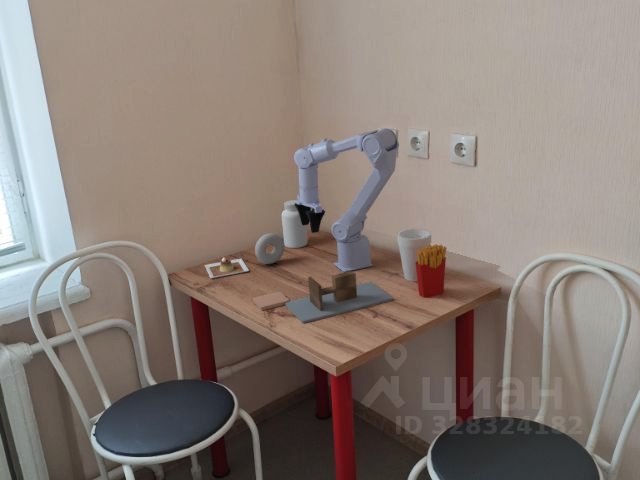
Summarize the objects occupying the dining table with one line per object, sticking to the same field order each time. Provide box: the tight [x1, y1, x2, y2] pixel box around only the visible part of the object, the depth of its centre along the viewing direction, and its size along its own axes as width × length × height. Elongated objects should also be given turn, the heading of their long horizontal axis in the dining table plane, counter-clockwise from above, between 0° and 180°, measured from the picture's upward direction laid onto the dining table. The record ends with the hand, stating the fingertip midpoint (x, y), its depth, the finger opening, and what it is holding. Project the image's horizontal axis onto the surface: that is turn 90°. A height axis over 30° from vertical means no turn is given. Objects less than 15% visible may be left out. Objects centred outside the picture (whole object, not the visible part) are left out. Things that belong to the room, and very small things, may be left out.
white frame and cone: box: [204, 256, 250, 279], centre depth 203 cm, size 12×12×5 cm
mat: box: [284, 281, 394, 324], centre depth 174 cm, size 26×13×1 cm, turn 113°
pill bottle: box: [281, 199, 308, 249], centre depth 218 cm, size 8×8×15 cm
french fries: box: [416, 244, 447, 299], centre depth 173 cm, size 9×4×13 cm, turn 121°
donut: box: [254, 232, 285, 265], centre depth 204 cm, size 10×4×10 cm, turn 122°
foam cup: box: [397, 228, 432, 282], centre depth 185 cm, size 10×9×13 cm
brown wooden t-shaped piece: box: [307, 270, 357, 311], centre depth 173 cm, size 12×7×7 cm, turn 113°
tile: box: [252, 291, 290, 311], centre depth 178 cm, size 2×7×8 cm
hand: (310, 228), depth 202 cm, fingers open, 7 cm apart
